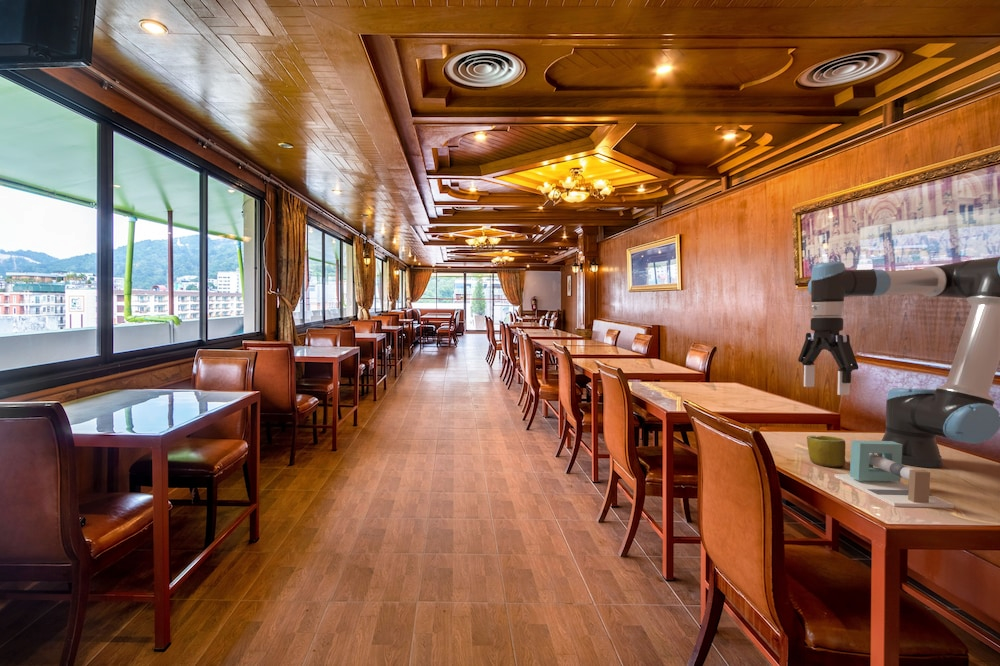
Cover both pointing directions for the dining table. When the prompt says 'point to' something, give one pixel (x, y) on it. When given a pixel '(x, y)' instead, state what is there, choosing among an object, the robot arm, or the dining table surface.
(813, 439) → the mug
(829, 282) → the robot arm
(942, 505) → the pipe rail
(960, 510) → the dining table surface
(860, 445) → the collar
